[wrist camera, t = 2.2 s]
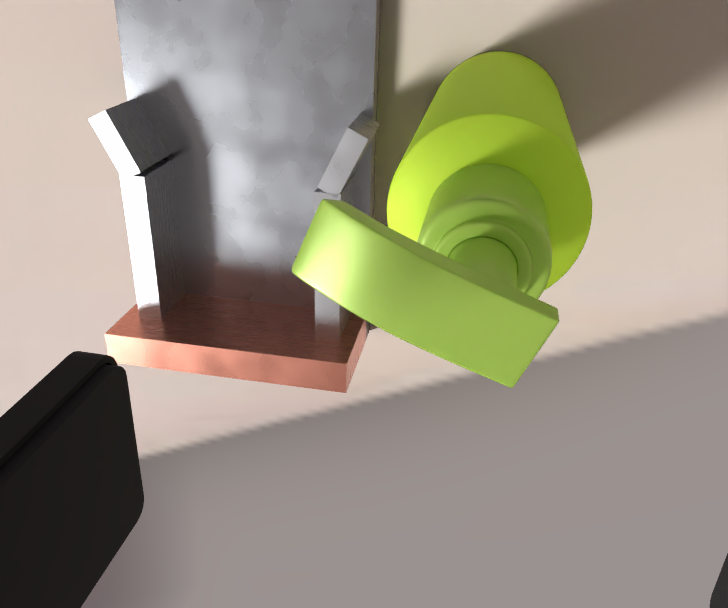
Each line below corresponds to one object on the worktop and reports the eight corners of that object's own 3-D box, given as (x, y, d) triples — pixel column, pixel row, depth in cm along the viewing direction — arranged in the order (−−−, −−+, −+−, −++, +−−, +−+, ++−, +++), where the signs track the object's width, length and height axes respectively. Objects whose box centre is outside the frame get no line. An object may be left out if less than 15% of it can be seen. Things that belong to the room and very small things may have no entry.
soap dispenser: (446, 16, 30) (356, 111, 13) (588, 88, 30) (694, 280, 13) (389, 137, 33) (251, 353, 15) (520, 202, 33) (530, 488, 16)
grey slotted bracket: (112, -46, 31) (32, -45, 26) (389, -37, 29) (363, -33, 24) (156, 306, 40) (102, 361, 34) (375, 332, 38) (353, 394, 33)
